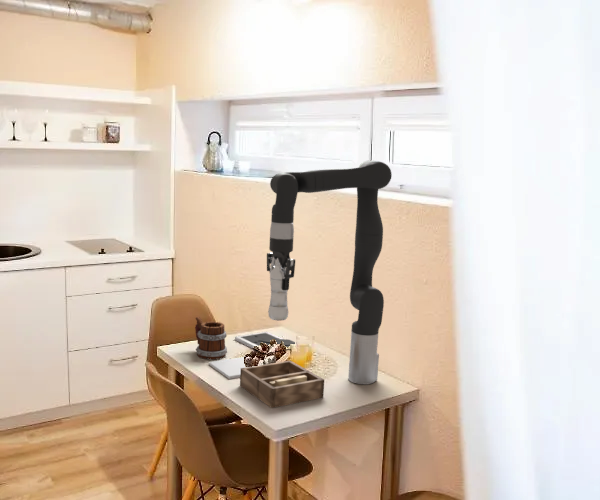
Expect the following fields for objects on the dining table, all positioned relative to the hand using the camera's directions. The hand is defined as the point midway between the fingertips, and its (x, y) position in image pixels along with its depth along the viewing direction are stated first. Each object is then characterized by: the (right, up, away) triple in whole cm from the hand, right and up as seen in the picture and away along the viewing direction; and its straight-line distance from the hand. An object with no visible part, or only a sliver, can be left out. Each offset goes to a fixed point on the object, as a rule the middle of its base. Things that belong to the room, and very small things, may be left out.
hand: (279, 287), depth 208 cm
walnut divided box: (0, -34, +2) cm, 34 cm away
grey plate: (-15, -30, +21) cm, 40 cm away
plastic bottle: (-1, -11, +2) cm, 11 cm away
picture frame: (-7, -27, +52) cm, 59 cm away
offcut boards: (+4, -35, -3) cm, 35 cm away
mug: (-28, -27, +35) cm, 53 cm away
